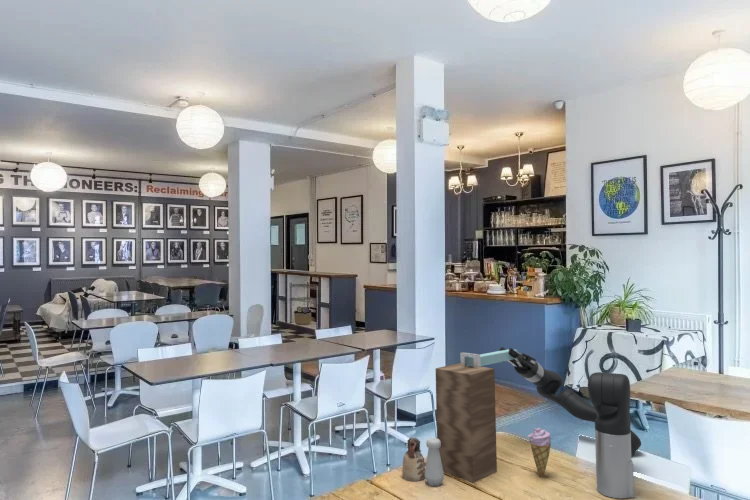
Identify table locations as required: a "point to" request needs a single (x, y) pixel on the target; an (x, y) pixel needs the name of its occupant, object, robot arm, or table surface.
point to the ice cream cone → (540, 449)
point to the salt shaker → (434, 463)
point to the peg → (492, 358)
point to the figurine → (413, 462)
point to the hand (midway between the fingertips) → (505, 350)
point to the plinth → (466, 421)
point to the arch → (475, 358)
